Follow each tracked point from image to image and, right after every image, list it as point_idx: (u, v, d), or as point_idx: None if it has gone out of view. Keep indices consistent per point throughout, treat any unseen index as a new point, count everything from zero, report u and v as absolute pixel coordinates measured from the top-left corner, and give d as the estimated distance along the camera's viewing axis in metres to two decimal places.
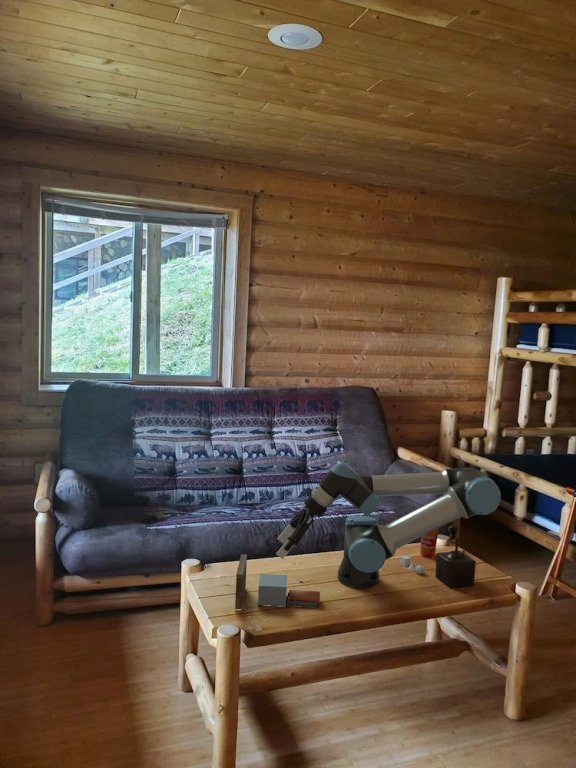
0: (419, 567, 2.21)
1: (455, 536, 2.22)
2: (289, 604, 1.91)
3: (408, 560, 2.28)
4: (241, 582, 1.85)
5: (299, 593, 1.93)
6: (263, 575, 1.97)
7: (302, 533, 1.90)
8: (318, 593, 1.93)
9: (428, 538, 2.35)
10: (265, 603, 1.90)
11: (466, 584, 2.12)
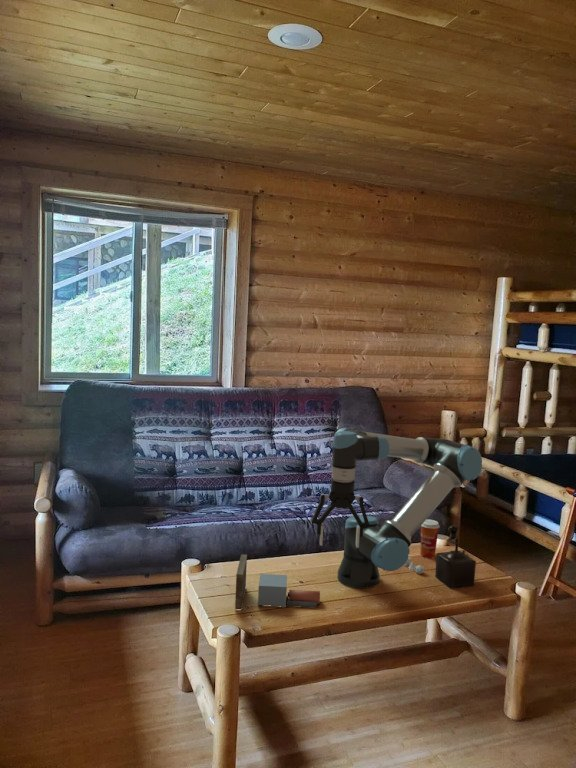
0: (419, 567, 2.21)
1: (455, 536, 2.22)
2: (289, 604, 1.91)
3: (408, 560, 2.28)
4: (241, 582, 1.85)
5: (299, 592, 1.93)
6: (263, 575, 1.97)
7: None
8: (318, 592, 1.93)
9: (428, 538, 2.35)
10: (265, 603, 1.90)
11: (466, 584, 2.12)
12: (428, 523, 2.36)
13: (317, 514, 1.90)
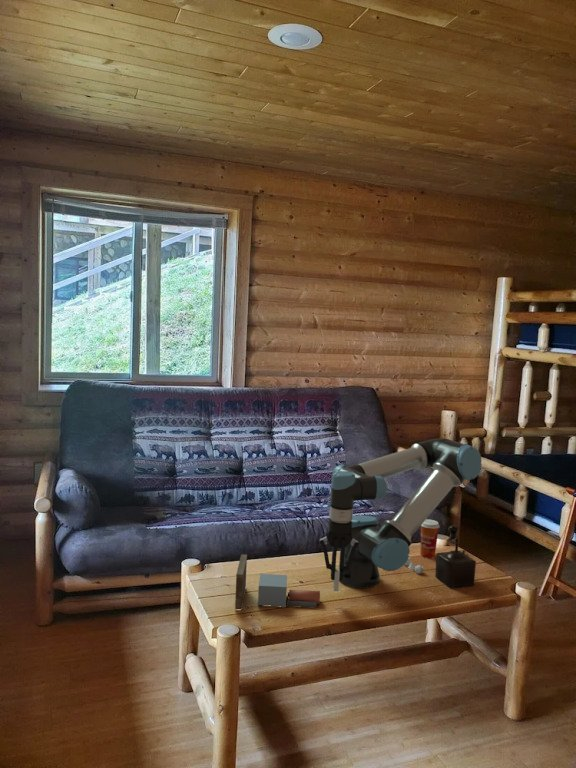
0: (418, 567, 2.21)
1: (455, 536, 2.22)
2: (289, 604, 1.91)
3: (407, 560, 2.28)
4: (241, 582, 1.85)
5: (299, 592, 1.93)
6: (263, 575, 1.97)
7: None
8: (318, 592, 1.93)
9: (428, 538, 2.35)
10: (265, 603, 1.90)
11: (466, 584, 2.12)
12: (428, 523, 2.36)
13: (327, 559, 1.91)
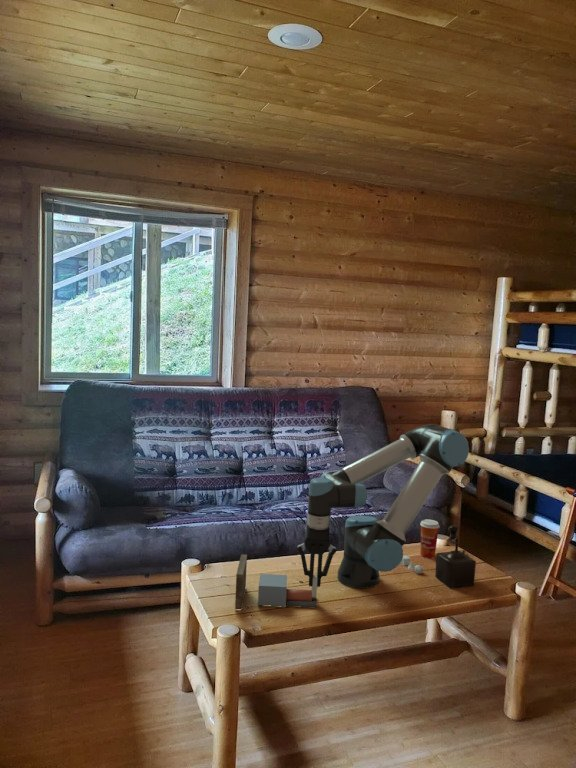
0: (418, 567, 2.21)
1: (455, 536, 2.22)
2: (289, 604, 1.91)
3: (407, 560, 2.29)
4: (241, 582, 1.85)
5: (291, 591, 1.93)
6: (263, 575, 1.97)
7: None
8: (310, 591, 1.93)
9: (428, 538, 2.35)
10: (265, 603, 1.90)
11: (466, 584, 2.12)
12: (428, 523, 2.36)
13: (304, 565, 1.91)
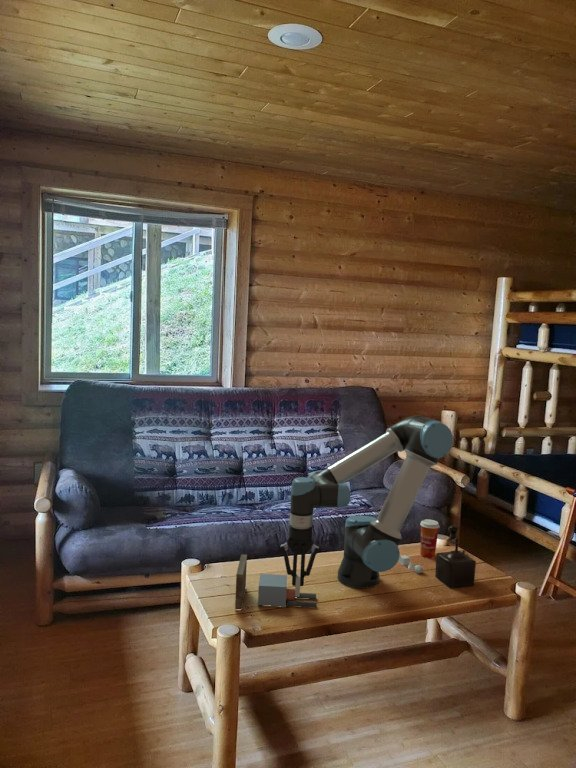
0: (418, 566, 2.21)
1: (455, 536, 2.22)
2: (289, 604, 1.91)
3: (407, 560, 2.29)
4: (241, 582, 1.85)
5: None
6: (263, 575, 1.97)
7: None
8: (293, 590, 1.94)
9: (428, 538, 2.35)
10: (265, 603, 1.90)
11: (466, 584, 2.12)
12: (428, 523, 2.36)
13: (287, 565, 1.92)
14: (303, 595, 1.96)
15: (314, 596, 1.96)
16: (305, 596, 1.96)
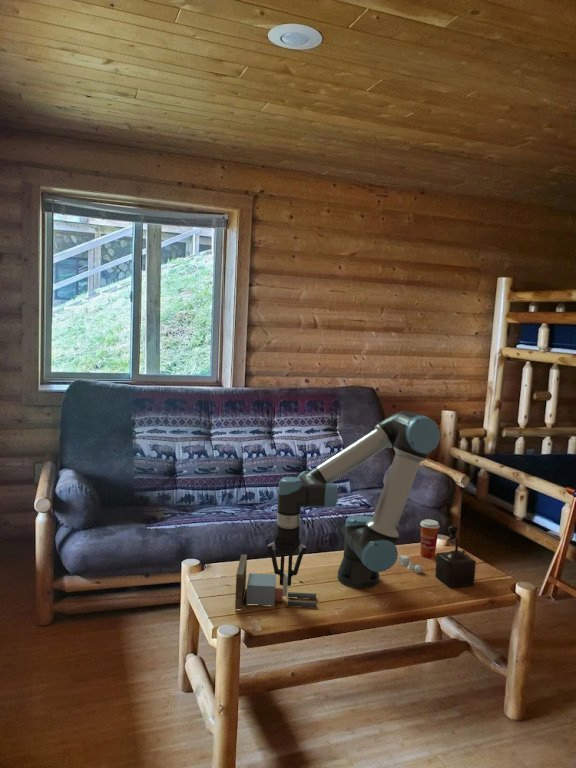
0: (418, 566, 2.21)
1: (455, 536, 2.22)
2: (289, 604, 1.91)
3: (406, 560, 2.29)
4: (241, 582, 1.85)
5: None
6: (252, 574, 1.97)
7: None
8: (281, 590, 1.94)
9: (428, 538, 2.35)
10: (253, 602, 1.90)
11: (466, 584, 2.12)
12: (428, 523, 2.36)
13: (275, 565, 1.92)
14: (303, 595, 1.96)
15: (314, 596, 1.96)
16: (305, 596, 1.96)
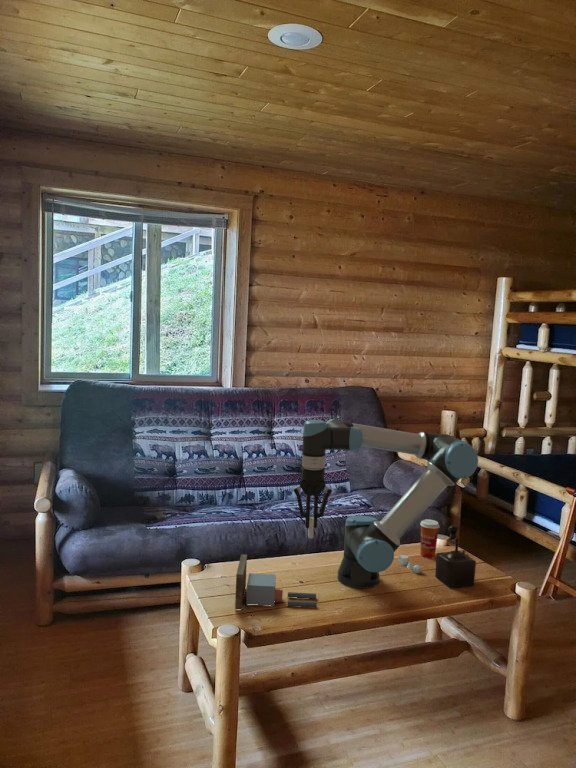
0: (417, 566, 2.21)
1: (455, 536, 2.22)
2: (289, 604, 1.91)
3: (406, 559, 2.29)
4: (241, 582, 1.85)
5: None
6: (252, 574, 1.97)
7: None
8: (281, 592, 1.93)
9: (428, 538, 2.35)
10: (253, 602, 1.90)
11: (466, 584, 2.12)
12: (428, 523, 2.36)
13: (301, 507, 1.93)
14: (303, 595, 1.96)
15: (314, 596, 1.96)
16: (305, 596, 1.96)
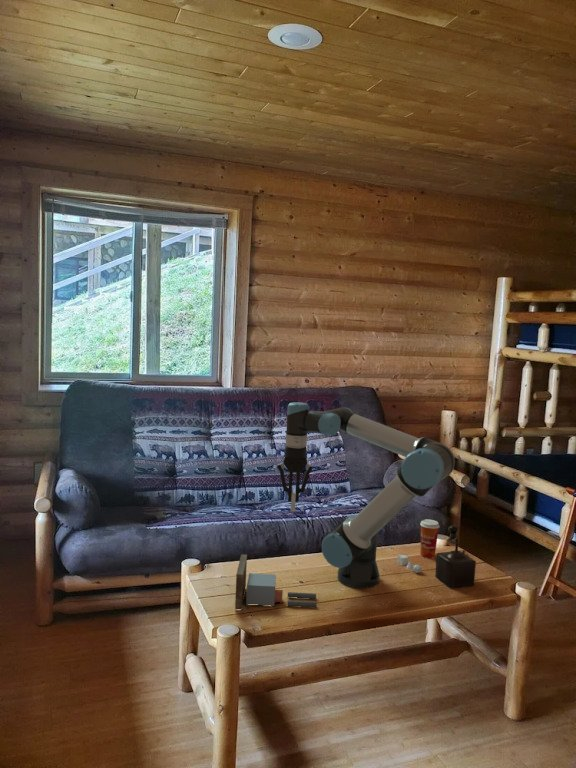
0: (417, 566, 2.21)
1: (455, 536, 2.22)
2: (289, 604, 1.91)
3: (406, 559, 2.29)
4: (241, 582, 1.85)
5: None
6: (252, 574, 1.97)
7: None
8: (281, 593, 1.92)
9: (428, 538, 2.35)
10: (253, 602, 1.90)
11: (466, 584, 2.12)
12: (428, 523, 2.36)
13: (284, 482, 2.09)
14: (303, 595, 1.96)
15: (314, 596, 1.96)
16: (305, 596, 1.96)
